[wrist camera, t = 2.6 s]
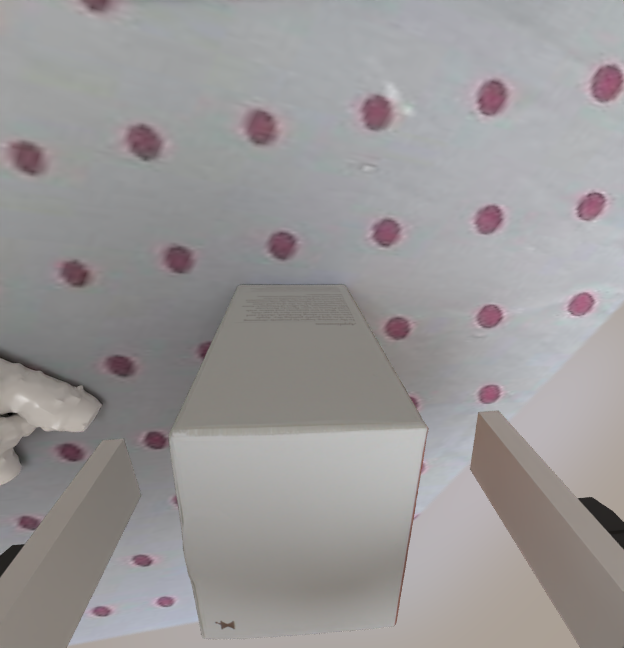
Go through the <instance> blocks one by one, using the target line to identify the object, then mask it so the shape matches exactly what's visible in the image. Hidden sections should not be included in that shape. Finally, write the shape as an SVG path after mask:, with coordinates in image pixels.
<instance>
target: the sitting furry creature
mask: <svg viewBox="0 0 624 648" xmlns="http://www.w3.org/2000/svg"><path fill="white" fill-rule="evenodd" d="M101 406H102V404H101V403H100V402H99V401H98V399H97V398H96V397H94V396H93V395H91V394H89V393H88V392H86V391H85V390H84V389H83V386H82V385H81V386H78V387H74V386H72V385H70V384H69V383H66V382H64V381H61V380H58V379H56V378H53V377H51V376H48V375H45V374H44V373H43V372H42V371H34V370H32V369H29V368H27V367H25V366H23V365H22V364H20V363H11V362H9V361H6V360H4V359H2V358H0V485H3V484H5V483H7V482H9V481H10V480H12V479H13V478H15V477H16V476H17V475H18V474H19V473H20V472H21V469H22V466H21V464H20V462H19V457H18V456H17V454H16V453H15V451H14V449H13V447H14V446H16V445H17V444H18V443H19V441H20V439H21V438H22V437H27V436H29V435H30V434H31V433H32V432H33V431H34V430H35V429H36V428H37V427H41V428H42V429H43V430H44V431H61V432H62V431H69V432H84V431H85V430H86V429H87V428H88V426H89V425H90V424H91V423H92V421H93V420H94V418H95V417H96V415H97V414H98V412H99V409H100V408H101ZM9 412H13V413H17V414H12V415H10V416H9V415H8V414H7V413H9Z"/></svg>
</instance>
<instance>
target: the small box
mask: <svg viewBox="0 0 624 648" xmlns="http://www.w3.org/2000/svg"><path fill="white" fill-rule="evenodd" d="M428 429H429V428H428V427H427V425H426V424H425V422H424V421H423V419H422V418H421V416H420V414H419V412H418V410H417V408H416V407H415V405H414V403H413V402H412V400H411V398H410V397H409V395H408V393H407V391H406V390H405V388H404V386H403V384H402V383H401V381H400V379H399V377H398V376H397V374H396V372H395V370H394V369H393V367H392V365H391V363H390V362H389V360H388V359H387V357H386V355H385V353H384V352H383V350H382V348H381V346H380V345H379V343H378V341H377V339H376V338H375V336H374V334H373V333H372V331H371V329H370V327H369V326H368V324H367V322H366V320H365V319H364V317H363V315H362V313H361V312H360V310H359V308H358V306H357V305H356V303H355V301H354V299H353V298H352V296H351V294H350V292H349V291H348V289H347V287H346V286H345V285H342V284H341V285H238V286H237V288H236V291H235V293H234V295H233V298H232V300H231V302H230V304H229V306H228V308H227V311H226V313H225V315H224V317H223V319H222V321H221V323H220V325H219V327H218V330H217V332H216V334H215V336H214V338H213V340H212V342H211V345H210V347H209V349H208V351H207V353H206V355H205V358H204V360H203V362H202V364H201V366H200V369H199V371H198V373H197V375H196V377H195V380H194V382H193V384H192V386H191V388H190V390H189V392H188V394H187V396H186V399H185V401H184V403H183V405H182V407H181V409H180V412H179V414H178V416H177V418H176V420H175V423H174V425H173V427H172V429H171V431H170V434H169V447H170V454H171V462H172V469H173V475H174V483H175V490H176V495H177V501H178V508H179V515H180V521H181V529H182V540H183V551H184V557H185V562H186V566H187V571H188V575H189V578H190V580H191V584H192V588H193V593H194V598H195V603H196V609H197V614H198V618H199V624H200V630H201V635H202V638H204V639H247V638H263V637H264V638H265V637H278V636H279V637H280V636H293V635H307V634H318V633H319V634H320V633H330V632H342V631H355V630H364V629H375V628H384V627H393V626H395V624H396V621H397V616H398V610H399V603H400V597H401V591H402V585H403V578H404V573H405V567H406V561H407V554H408V547H409V542H410V537H411V530H412V524H413V519H414V513H415V507H416V499H417V494H418V488H419V481H420V475H421V469H422V463H423V457H424V451H425V444H426V438H427V433H428Z"/></svg>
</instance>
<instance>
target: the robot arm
mask: <svg viewBox="0 0 624 648" xmlns="http://www.w3.org/2000/svg"><path fill="white" fill-rule="evenodd" d="M470 470H471V471H472V473H473V475H474V476H475V478H476V479H477V481H478V483H479V484H480V486H481V488H482V489H483V491H484V492H485V494H486V496H487V497H488V499H489V501H490V502H491V504H492V506H493V507H494V509H495V510H496V512H497V514H498V515H499V517H500V519H501V520H502V522H503V523H504V525H505V527H506V528H507V530H508V532H509V533H510V535H511V536H512V538H513V540H514V541H515V543H516V544H517V546H518V548H519V549H520V551H521V553H522V554H523V556H524V557H525V559H526V561H527V562H528V564H529V566H530V567H531V569H532V571H533V572H534V574H535V575H536V577H537V579H538V580H539V582H540V583H541V585H542V587H543V588H544V590H545V592H546V593H547V595H548V596H549V598H550V599H551V601H552V603H553V605H554V606H555V608H556V609H557V611H558V613H559V614H560V616H561V618H562V619H563V621H564V622H565V624H566V626H567V627H568V629H569V631H570V632H571V634H572V635H573V637H574V639H575V640H576V642H577V644H578V645H579V647H580V648H624V522H623V521H622V520H621V519H620V518H619V517H618V516H617V515H616V514H615V513H614V512H613V511H612V510H610V509H609V508H607V507H606V506H604V505H602V504H601V503H600V502H598V501H597V500H595V499H594V498H592V497H587V498H577V497H576V496H575V495H574V494H573V493H572V492H571V491H570V489H569V488H568V487H567V486H566V485H565V484H564V483H563V482H562V481H561V479H560V478H559V477H558V476H557V475H556V474H555V473H554V472H553V471H552V469H550V467H549V466H548V465H547V464H546V463H545V462H544V461H543V459H541V457H540V456H539V455H538V454H537V453H536V452H535V451H534V450H533V448H532V447H531V446H530V445H529V444H528V443H527V442H526V441H525V440H524V438H523V437H522V436H521V435H520V434H519V433H518V432H517V431H516V430H515V428H514V427H513V426H512V425H511V424H510V423H509V422H508V421H507V420H506V418H505V417H504V416H503V415H502V414H501V413H500V412H499V411H487V412H478V418H477V425H476V432H475V439H474V446H473V453H472V460H471V467H470ZM140 497H141V492H140V489H139V486H138V483H137V479H136V476H135V473H134V470H133V467H132V463H131V460H130V457H129V454H128V451H127V447H126V444H125V441H124V439H113V440H102V442H101V443H100V444H99V446H98V447H97V448H96V450H95V451H94V452H93V454H92V455H91V456H90V458H89V459H88V460H87V462H86V463H85V465H84V466H83V467H82V469H81V470H80V471H79V473H78V474H77V475H76V477H75V478H74V479H73V481H72V482H71V483H70V485H69V486H68V487H67V489H66V490H65V491H64V493H63V494H62V495H61V497H60V498H59V499H58V501H57V502H56V503H55V505H54V506H53V507H52V509H51V510H50V511H49V513H48V514H47V515H46V517H45V518H44V520H43V521H42V522H41V524H40V525H39V526H38V528H37V529H36V530H35V532H34V533H33V534H32V536H31V537H30V538H29V540H28V541H27V542H26V544H21V545H12V546H11V547H10V548H9V549H7V550H6V551H5V552H4V553H3V554H2V555H0V648H67V646H68V644H69V642H70V640H71V638H72V636H73V634H74V632H75V630H76V628H77V626H78V624H79V622H80V620H81V617H82V615H83V613H84V611H85V609H86V607H87V605H88V603H89V601H90V599H91V597H92V595H93V593H94V591H95V589H96V587H97V585H98V583H99V581H100V579H101V577H102V575H103V573H104V571H105V568H106V566H107V564H108V562H109V560H110V558H111V556H112V554H113V552H114V550H115V548H116V546H117V544H118V542H119V540H120V538H121V536H122V534H123V532H124V530H125V528H126V526H127V524H128V521H129V519H130V517H131V515H132V513H133V511H134V509H135V507H136V505H137V503H138V501H139V499H140Z"/></svg>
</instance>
